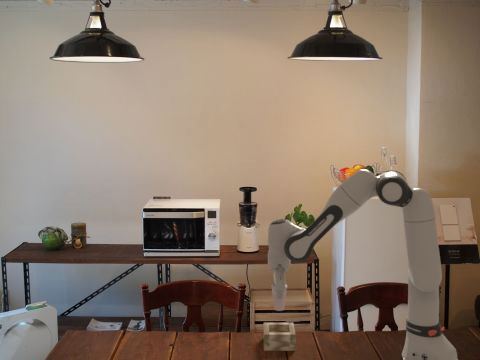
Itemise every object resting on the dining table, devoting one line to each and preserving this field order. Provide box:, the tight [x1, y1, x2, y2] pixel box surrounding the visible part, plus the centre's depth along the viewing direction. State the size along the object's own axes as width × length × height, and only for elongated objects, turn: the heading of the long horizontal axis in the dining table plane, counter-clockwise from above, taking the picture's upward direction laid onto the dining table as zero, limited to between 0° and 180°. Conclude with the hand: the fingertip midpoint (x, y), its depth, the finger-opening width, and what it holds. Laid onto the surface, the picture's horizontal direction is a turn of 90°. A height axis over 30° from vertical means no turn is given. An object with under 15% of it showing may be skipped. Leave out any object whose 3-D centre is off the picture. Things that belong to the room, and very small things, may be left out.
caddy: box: [262, 322, 296, 352], centre depth 246 cm, size 12×12×6 cm
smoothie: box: [270, 282, 288, 312], centre depth 243 cm, size 6×6×14 cm
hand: (279, 295), depth 243 cm, fingers closed on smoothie, 5 cm apart
